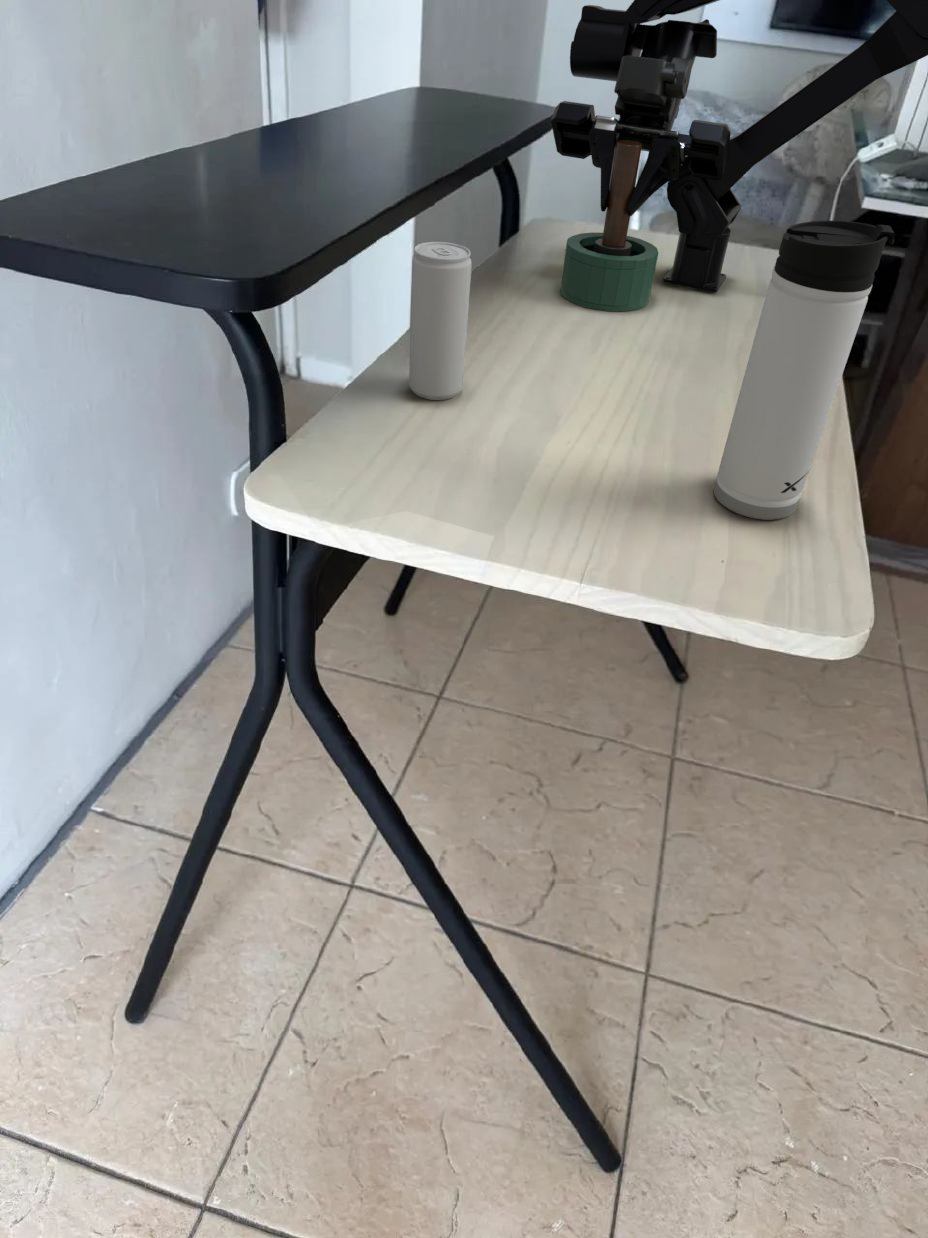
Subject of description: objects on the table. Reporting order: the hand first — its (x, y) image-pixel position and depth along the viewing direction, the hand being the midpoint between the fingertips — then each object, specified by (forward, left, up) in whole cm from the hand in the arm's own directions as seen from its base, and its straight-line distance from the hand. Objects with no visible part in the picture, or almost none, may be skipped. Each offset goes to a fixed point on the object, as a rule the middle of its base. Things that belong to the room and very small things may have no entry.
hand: (615, 211), depth 98 cm
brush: (-2, 0, -7) cm, 7 cm away
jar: (-1, 0, -9) cm, 9 cm away
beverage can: (+32, -6, -10) cm, 34 cm away
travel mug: (+37, +23, -10) cm, 45 cm away
